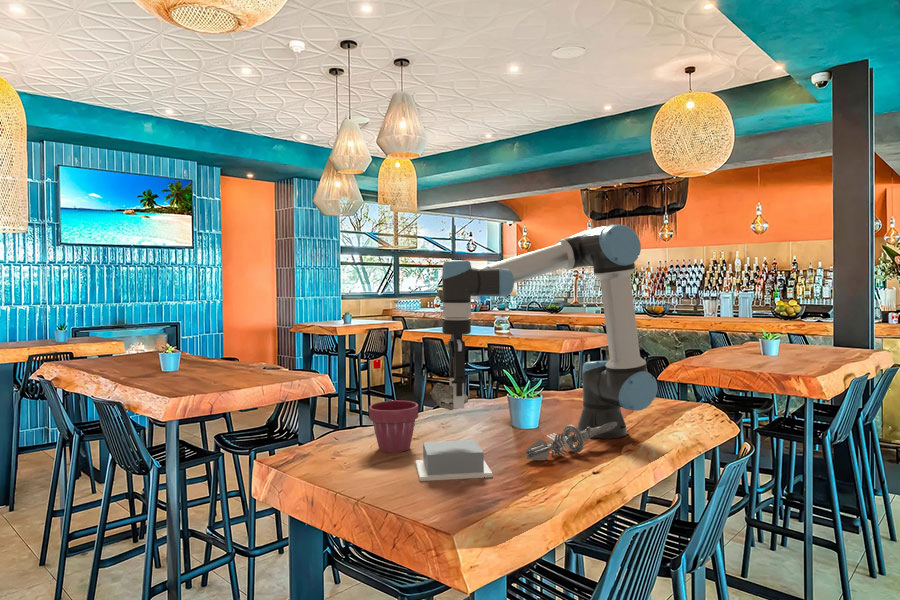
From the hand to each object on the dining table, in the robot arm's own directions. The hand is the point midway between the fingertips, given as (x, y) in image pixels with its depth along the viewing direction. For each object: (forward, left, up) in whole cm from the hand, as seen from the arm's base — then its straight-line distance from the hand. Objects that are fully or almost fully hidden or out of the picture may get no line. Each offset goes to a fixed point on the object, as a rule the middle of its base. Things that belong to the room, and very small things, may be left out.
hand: (456, 404), depth 155 cm
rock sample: (+1, 0, -1) cm, 1 cm away
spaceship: (-34, -5, -16) cm, 38 cm away
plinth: (+2, +5, -16) cm, 17 cm away
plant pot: (+16, -18, -16) cm, 29 cm away
